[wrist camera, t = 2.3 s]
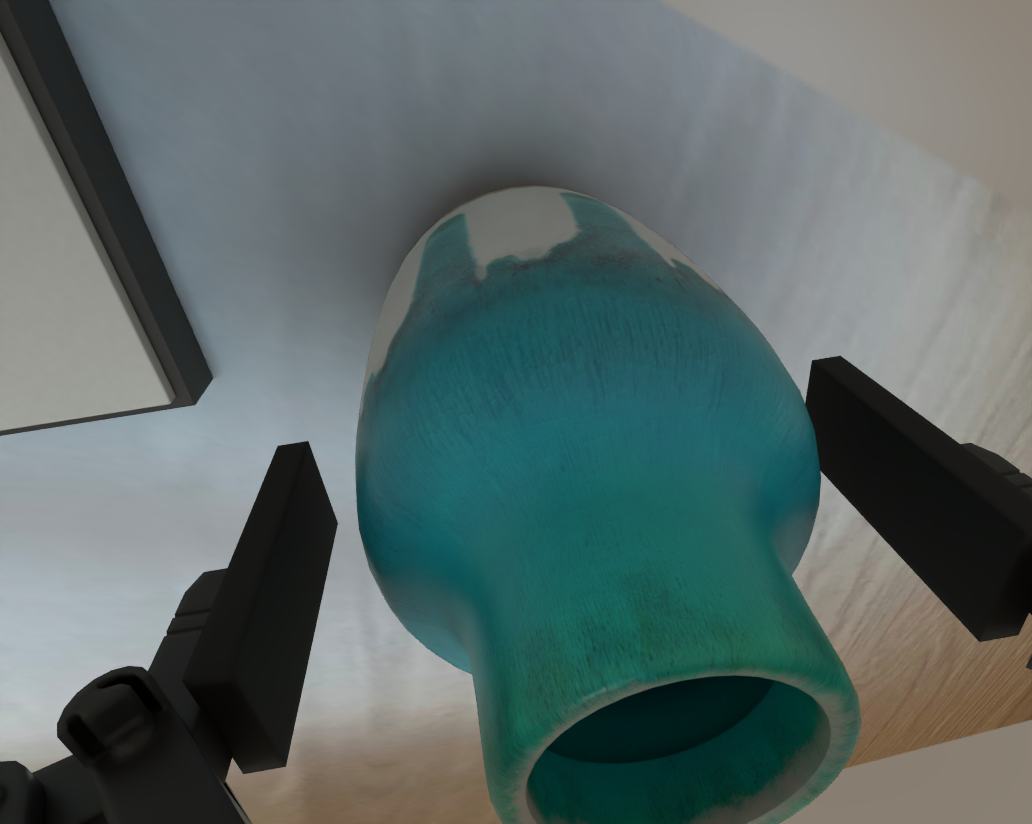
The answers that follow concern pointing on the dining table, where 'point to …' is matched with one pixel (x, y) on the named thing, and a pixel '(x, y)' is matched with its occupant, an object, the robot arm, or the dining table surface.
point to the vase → (600, 518)
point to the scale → (75, 254)
